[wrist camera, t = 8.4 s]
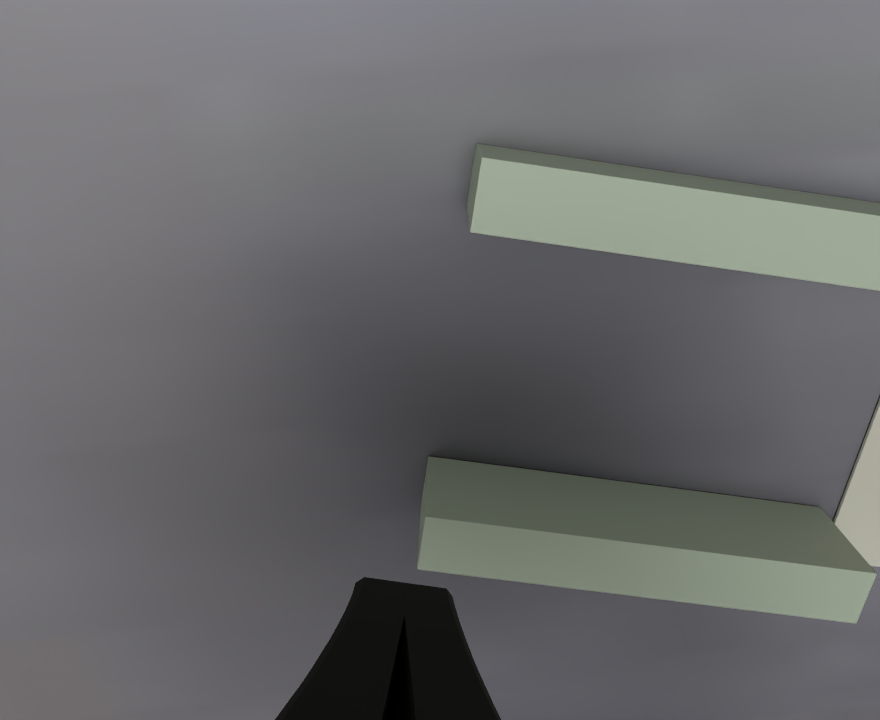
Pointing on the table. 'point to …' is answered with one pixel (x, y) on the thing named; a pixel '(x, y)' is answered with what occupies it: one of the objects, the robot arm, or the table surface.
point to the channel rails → (639, 505)
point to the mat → (864, 498)
